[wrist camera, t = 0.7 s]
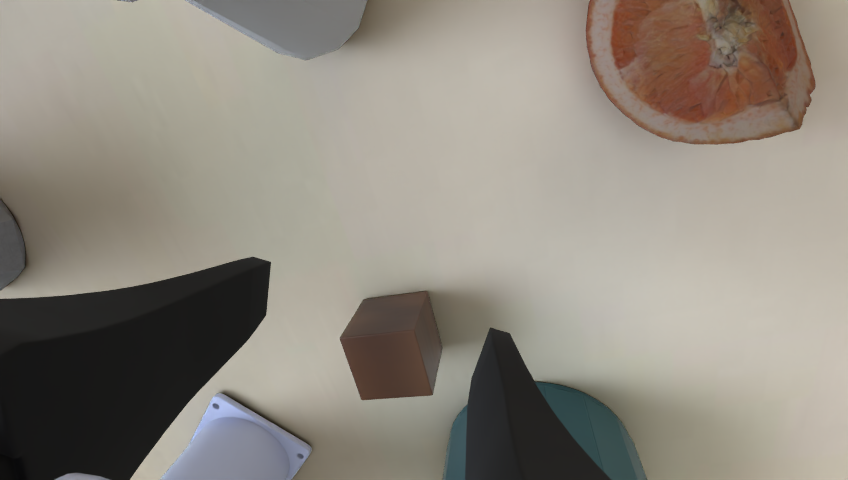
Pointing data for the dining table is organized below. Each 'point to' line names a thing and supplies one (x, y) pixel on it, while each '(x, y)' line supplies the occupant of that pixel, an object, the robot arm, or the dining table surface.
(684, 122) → the fruit slice
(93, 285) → the dining table surface
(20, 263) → the coffeepot
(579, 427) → the tin
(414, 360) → the block
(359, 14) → the salt shaker
